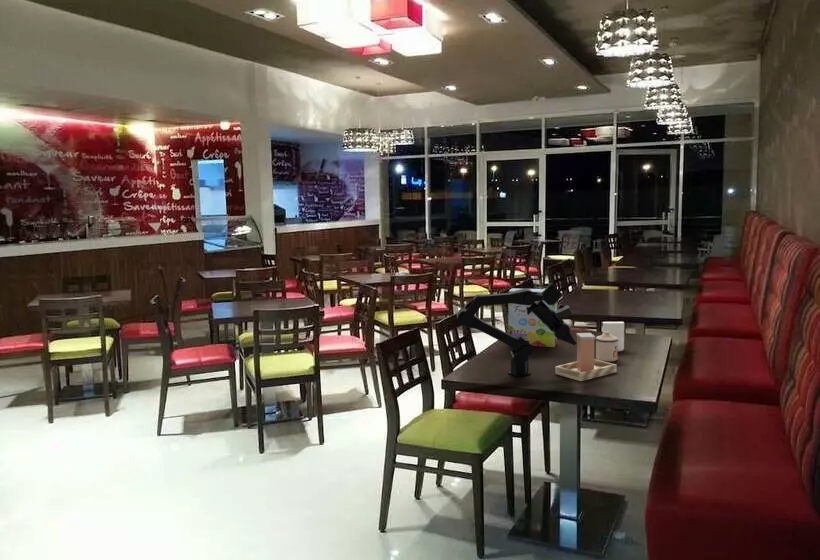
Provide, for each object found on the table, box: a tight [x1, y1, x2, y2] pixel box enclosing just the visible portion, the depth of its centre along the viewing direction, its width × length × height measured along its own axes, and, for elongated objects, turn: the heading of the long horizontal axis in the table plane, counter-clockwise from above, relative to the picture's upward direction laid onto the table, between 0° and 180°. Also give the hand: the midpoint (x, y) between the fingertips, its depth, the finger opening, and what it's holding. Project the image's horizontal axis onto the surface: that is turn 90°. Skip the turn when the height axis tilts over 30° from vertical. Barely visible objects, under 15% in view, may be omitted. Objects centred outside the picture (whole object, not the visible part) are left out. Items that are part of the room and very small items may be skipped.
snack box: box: [507, 287, 558, 348], centre depth 309 cm, size 22×9×26 cm, turn 72°
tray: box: [554, 358, 618, 382], centre depth 261 cm, size 20×13×3 cm, turn 124°
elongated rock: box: [562, 318, 573, 329], centre depth 339 cm, size 35×5×10 cm
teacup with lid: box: [595, 332, 619, 362], centre depth 282 cm, size 12×9×12 cm
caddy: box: [575, 332, 596, 372], centre depth 260 cm, size 6×7×14 cm
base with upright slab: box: [602, 321, 625, 352], centre depth 297 cm, size 9×9×12 cm
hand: (573, 341), depth 259 cm, fingers open, 9 cm apart
